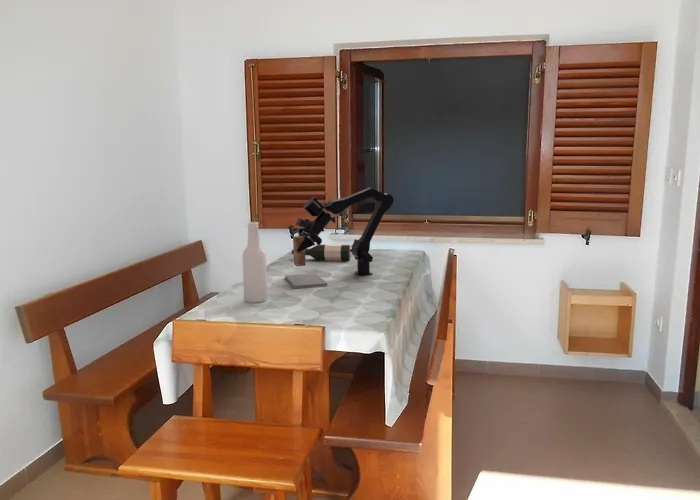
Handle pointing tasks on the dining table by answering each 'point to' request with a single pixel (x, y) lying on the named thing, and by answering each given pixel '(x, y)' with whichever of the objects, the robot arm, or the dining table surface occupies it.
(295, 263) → the wooden pillar
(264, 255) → the alcohol
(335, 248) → the wine bottle
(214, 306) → the dining table surface
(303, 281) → the slate board
